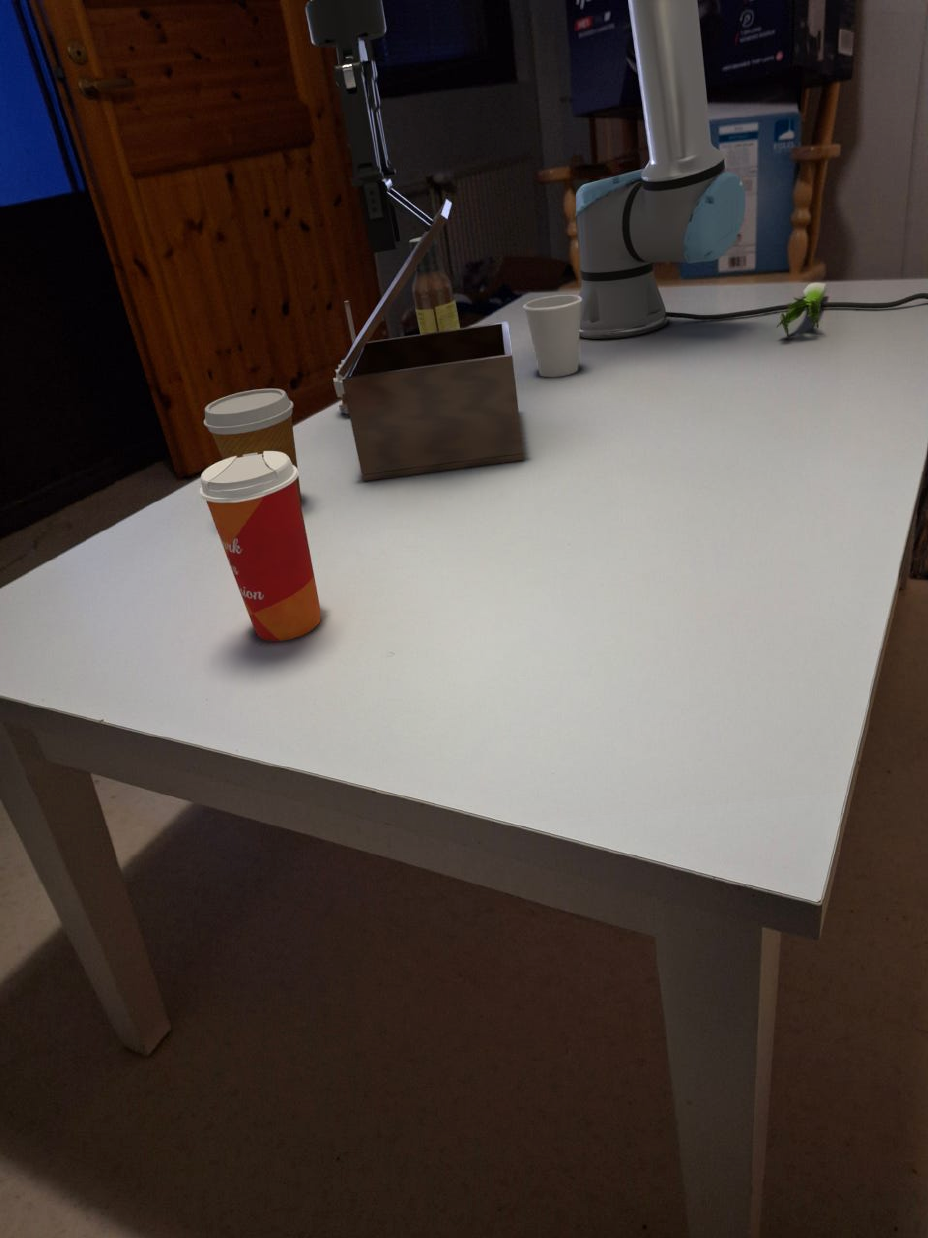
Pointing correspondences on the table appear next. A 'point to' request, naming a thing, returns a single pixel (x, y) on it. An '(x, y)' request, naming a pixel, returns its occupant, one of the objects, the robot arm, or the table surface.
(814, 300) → the leek
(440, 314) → the sauce bottle
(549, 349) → the dixie cup
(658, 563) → the table surface
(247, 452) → the disposable coffee cup
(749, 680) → the table surface
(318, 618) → the paper cup
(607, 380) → the table surface
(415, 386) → the chest
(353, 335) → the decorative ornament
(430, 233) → the lid
